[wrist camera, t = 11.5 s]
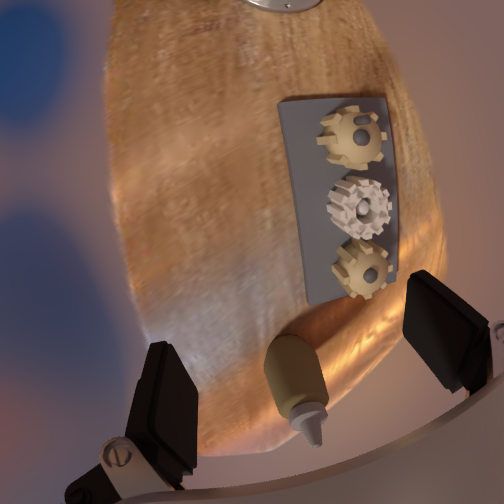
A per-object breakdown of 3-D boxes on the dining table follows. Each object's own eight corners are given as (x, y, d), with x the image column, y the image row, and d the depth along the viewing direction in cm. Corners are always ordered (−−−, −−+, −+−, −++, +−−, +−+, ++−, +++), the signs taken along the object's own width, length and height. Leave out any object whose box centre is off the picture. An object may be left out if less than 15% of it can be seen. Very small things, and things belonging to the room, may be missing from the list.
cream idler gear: (323, 179, 30) (337, 184, 26) (372, 172, 30) (390, 176, 27) (329, 234, 33) (342, 245, 29) (376, 224, 33) (392, 233, 29)
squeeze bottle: (307, 321, 39) (352, 417, 22) (313, 358, 42) (350, 446, 25) (254, 336, 39) (275, 441, 22) (266, 371, 42) (287, 465, 25)
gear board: (276, 104, 28) (292, 91, 21) (379, 99, 28) (413, 92, 21) (306, 300, 37) (323, 332, 30) (391, 277, 38) (418, 300, 31)
